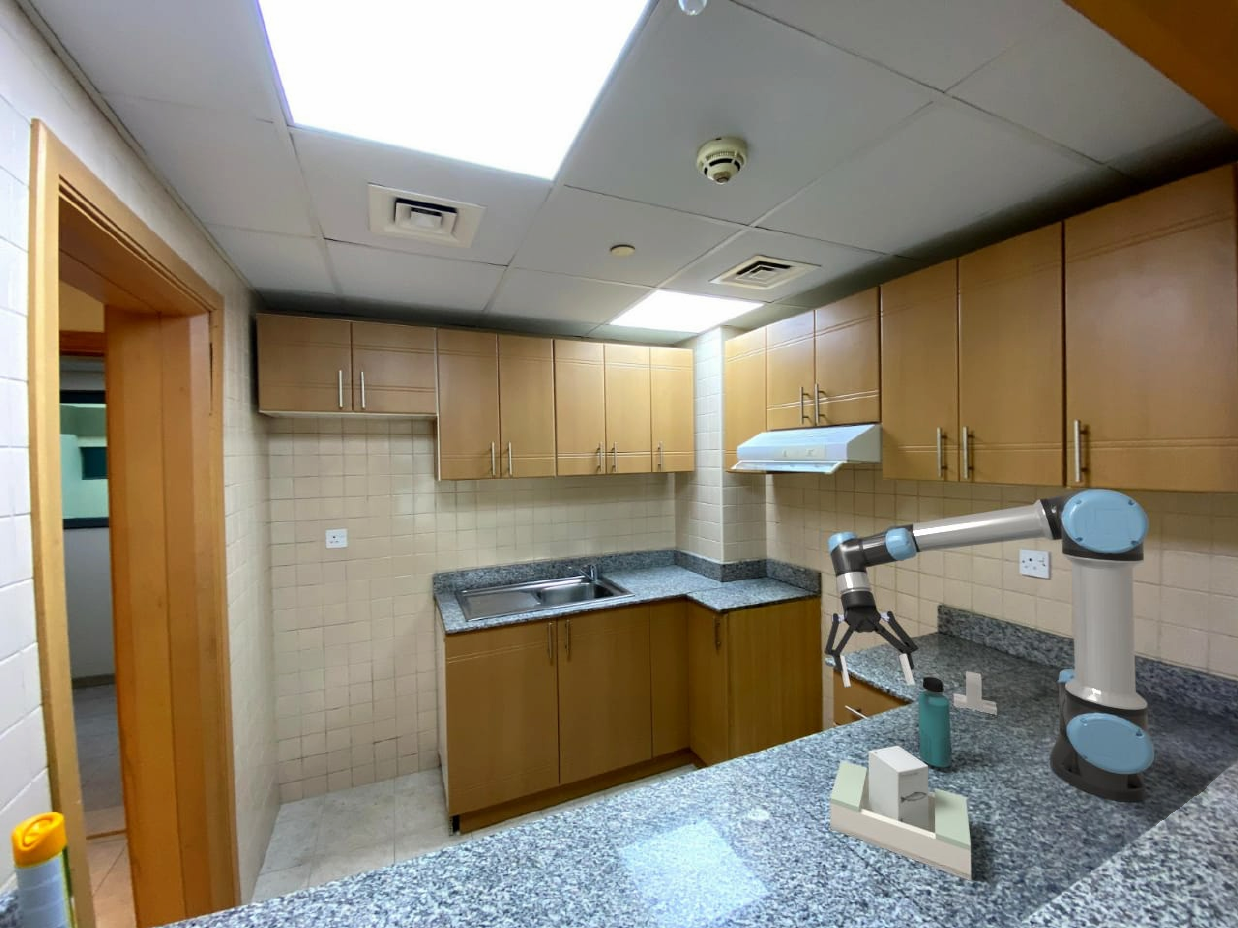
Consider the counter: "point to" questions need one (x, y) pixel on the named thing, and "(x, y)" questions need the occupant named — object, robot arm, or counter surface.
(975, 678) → the cable organizer
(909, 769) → the supplement box
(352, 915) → the counter surface
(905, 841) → the cream green tray
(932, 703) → the beverage bottle
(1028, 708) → the counter surface
